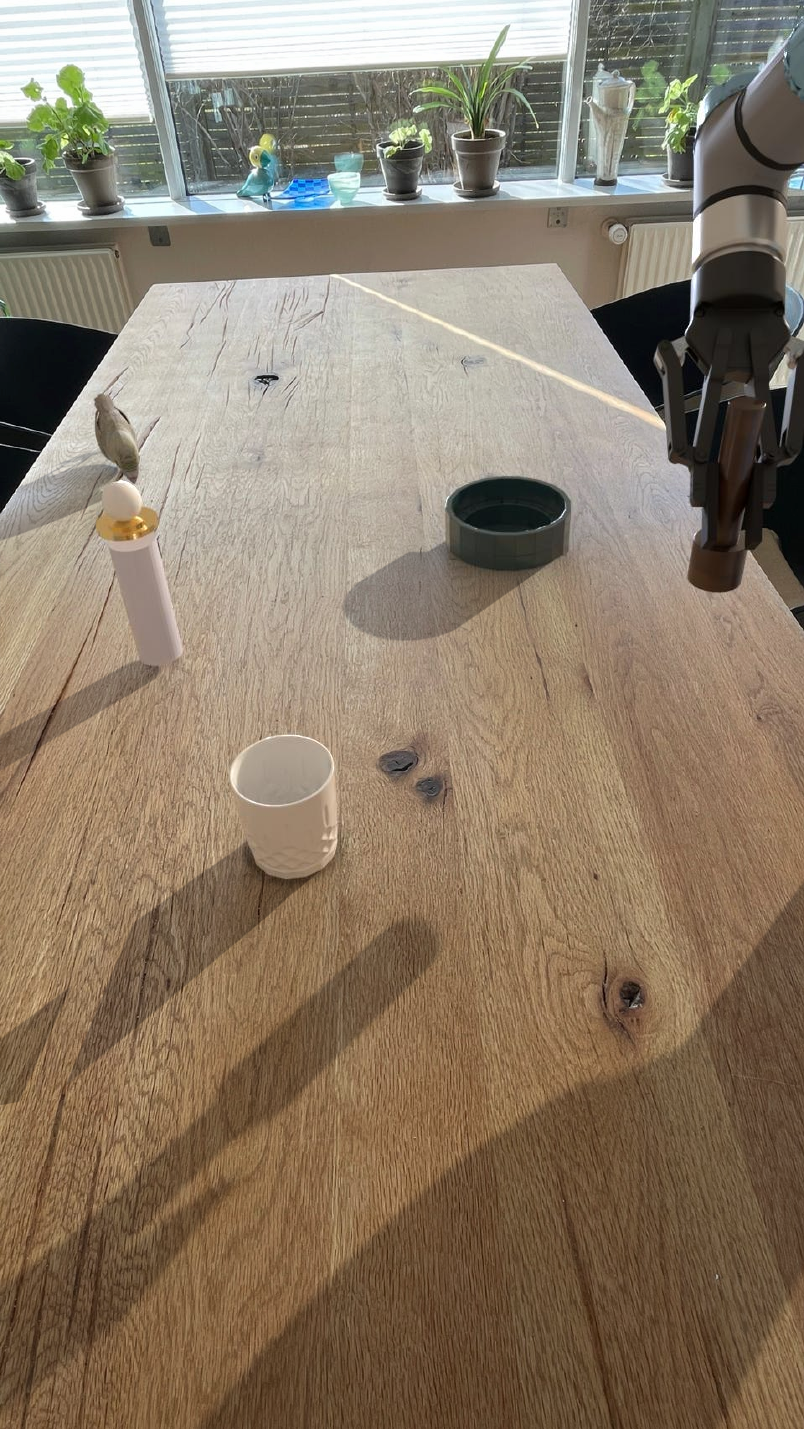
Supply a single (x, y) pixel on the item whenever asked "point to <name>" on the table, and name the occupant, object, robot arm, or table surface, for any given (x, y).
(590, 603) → the table surface
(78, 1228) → the table surface
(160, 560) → the perfume bottle
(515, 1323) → the table surface
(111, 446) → the decorative bird
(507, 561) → the bowl
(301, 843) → the white cup
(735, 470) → the brown pestle
